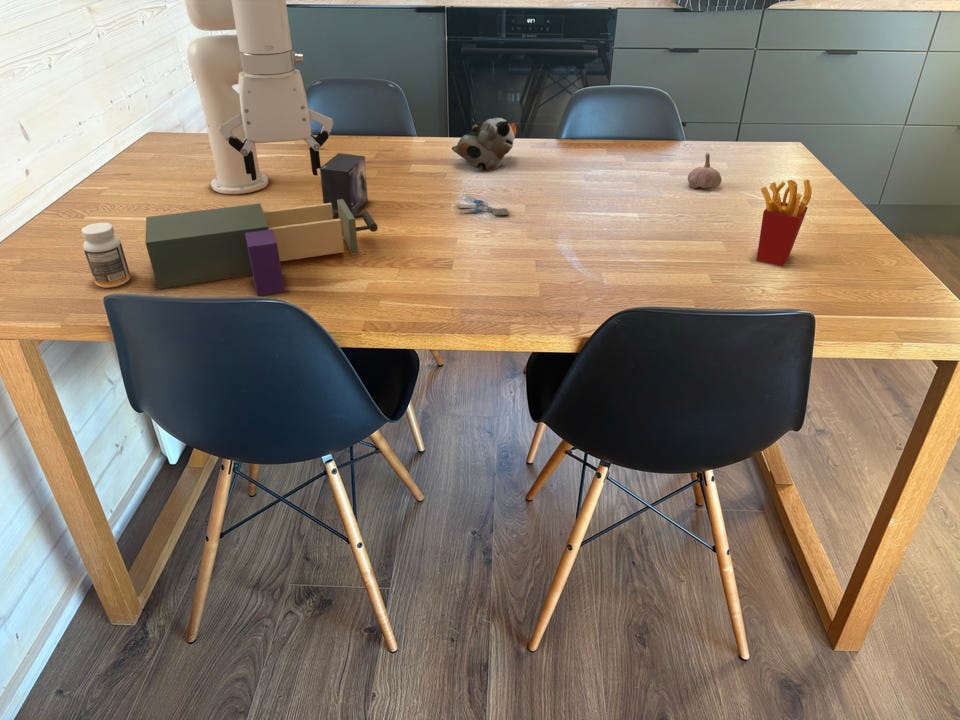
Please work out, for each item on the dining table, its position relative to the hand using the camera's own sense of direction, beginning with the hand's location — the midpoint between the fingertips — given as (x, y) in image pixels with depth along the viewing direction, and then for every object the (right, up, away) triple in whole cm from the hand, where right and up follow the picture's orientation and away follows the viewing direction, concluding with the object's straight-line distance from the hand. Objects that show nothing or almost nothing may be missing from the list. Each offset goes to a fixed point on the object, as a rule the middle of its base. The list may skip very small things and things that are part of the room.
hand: (284, 175), depth 114 cm
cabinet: (-16, -13, +13) cm, 24 cm away
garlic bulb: (+84, +10, +50) cm, 98 cm away
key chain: (+31, +2, +36) cm, 48 cm away
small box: (+3, +2, +36) cm, 36 cm away
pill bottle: (-32, -17, +8) cm, 37 cm away
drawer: (+1, -9, +18) cm, 20 cm away
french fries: (+87, -11, +18) cm, 89 cm away
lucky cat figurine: (+33, +19, +62) cm, 73 cm away
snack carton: (-4, -17, +6) cm, 19 cm away
